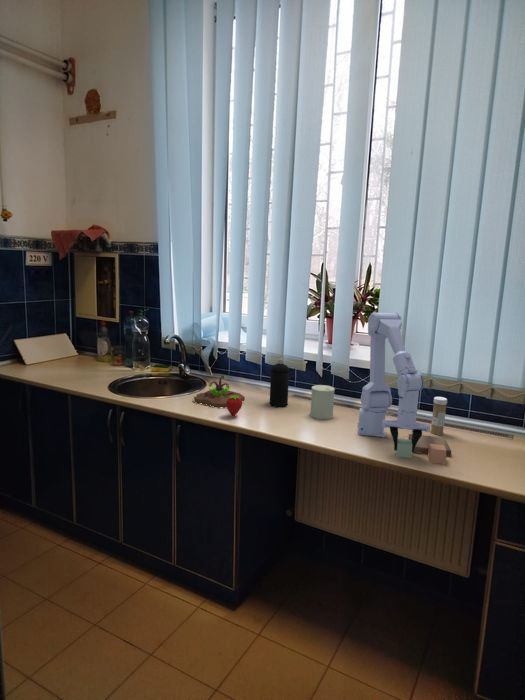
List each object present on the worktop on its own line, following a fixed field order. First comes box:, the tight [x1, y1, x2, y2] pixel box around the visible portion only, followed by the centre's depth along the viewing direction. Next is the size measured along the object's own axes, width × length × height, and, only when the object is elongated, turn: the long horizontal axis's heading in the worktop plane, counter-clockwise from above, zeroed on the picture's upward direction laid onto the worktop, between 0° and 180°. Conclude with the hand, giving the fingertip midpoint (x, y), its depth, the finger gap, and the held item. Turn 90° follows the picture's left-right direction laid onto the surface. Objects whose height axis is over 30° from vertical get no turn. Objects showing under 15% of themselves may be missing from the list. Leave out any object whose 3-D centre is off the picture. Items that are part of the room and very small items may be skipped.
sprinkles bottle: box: [429, 396, 448, 436], centre depth 174 cm, size 5×5×14 cm
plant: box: [193, 374, 246, 407], centre depth 205 cm, size 20×20×11 cm
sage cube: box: [395, 438, 413, 459], centre depth 154 cm, size 4×4×4 cm
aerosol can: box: [268, 357, 291, 408], centre depth 201 cm, size 8×8×20 cm
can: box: [309, 384, 336, 420], centre depth 190 cm, size 9×9×12 cm
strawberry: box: [226, 395, 243, 417], centre depth 185 cm, size 6×8×10 cm
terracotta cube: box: [427, 444, 447, 465], centre depth 150 cm, size 4×4×4 cm
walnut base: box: [408, 433, 452, 457], centre depth 161 cm, size 12×12×2 cm
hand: (403, 450), depth 154 cm, fingers closed on sage cube, 4 cm apart
